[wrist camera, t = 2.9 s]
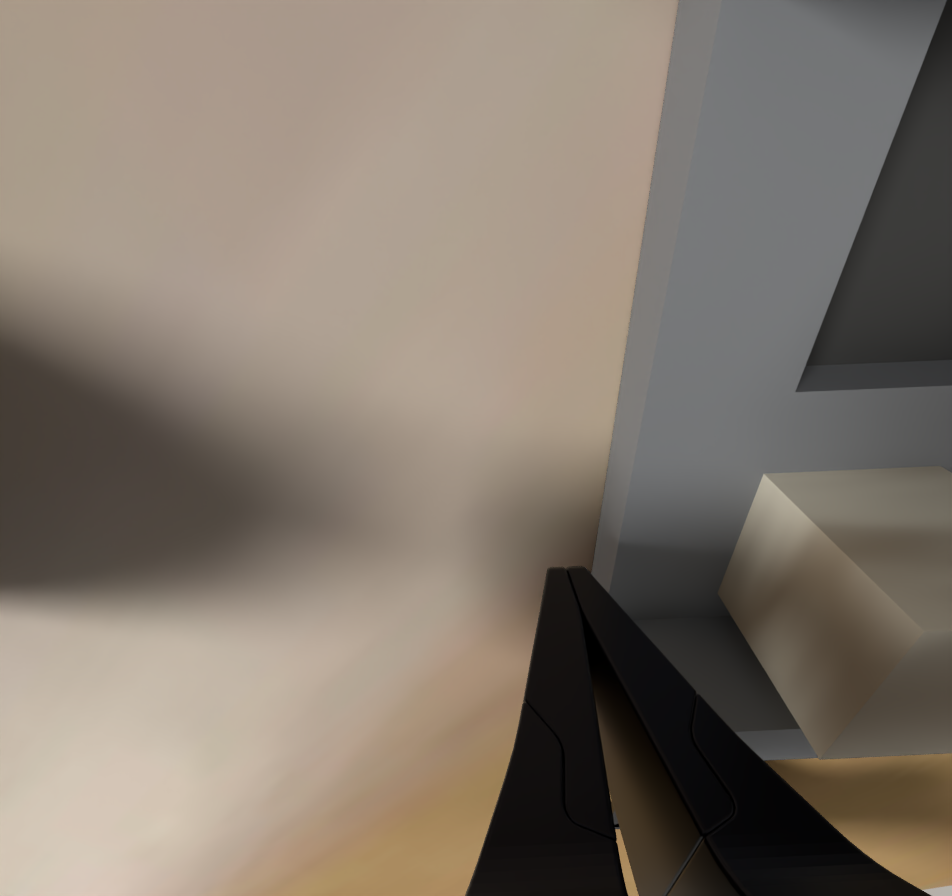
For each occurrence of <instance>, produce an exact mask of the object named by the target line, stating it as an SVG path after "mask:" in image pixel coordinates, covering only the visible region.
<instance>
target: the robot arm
mask: <svg viewBox="0 0 952 896" xmlns="http://www.w3.org/2000/svg"><path fill="white" fill-rule="evenodd" d="M696 694H697V691H696V690H695V689H694V687H693V686H692V685H691V684H690V683H689V682H688V681H687V680H686V679H685V677H684V676H683V675H682V674H681V673H680V672H679V671H678V670H677V669H676V667H675V666H674V665H673V664H672V663H671V662H670V661H669V660H668V659H667V657H666V656H665V655H664V654H663V653H662V652H661V651H660V650H659V649H658V647H657V646H656V645H655V644H654V643H653V642H652V641H651V640H650V639H649V637H648V636H647V635H646V634H645V633H644V632H643V631H642V630H641V629H640V627H639V626H638V625H637V624H636V623H635V622H634V621H633V620H632V619H631V617H630V616H629V615H628V614H627V613H626V612H625V611H624V610H623V609H622V608H621V606H620V605H619V604H618V603H617V602H616V601H615V600H614V599H613V598H612V596H611V595H610V594H609V593H608V592H607V591H606V590H605V589H604V588H603V586H602V585H601V584H600V583H599V582H598V581H597V580H596V579H595V578H594V576H593V575H592V574H591V573H590V572H589V571H588V570H587V569H586V568H585V567H583V566H571V567H567V568H566V569H565V568H564V567H550V568H548V570H547V574H546V579H545V585H544V590H543V596H542V601H541V607H540V612H539V618H538V623H537V629H536V634H535V639H534V645H533V650H532V656H531V661H530V667H529V672H528V678H527V683H526V689H525V694H524V700H523V704H522V709H521V715H520V720H519V725H518V730H517V734H516V739H515V743H514V748H513V752H512V755H511V758H510V762H509V765H508V769H507V772H506V776H505V779H504V782H503V785H502V788H501V791H500V794H499V797H498V800H497V804H496V807H495V810H494V813H493V816H492V819H491V822H490V825H489V828H488V831H487V834H486V837H485V841H484V844H483V847H482V850H481V853H480V856H479V859H478V862H477V865H476V868H475V870H474V873H473V876H472V879H471V881H470V884H469V887H468V889H467V892H466V894H465V896H628V894H627V890H626V887H625V882H624V877H623V873H622V868H621V863H620V857H619V852H618V846H617V843H616V839H617V838H616V832H615V829H620V830H621V834H622V838H623V841H624V845H625V848H626V852H627V855H628V859H629V862H630V866H631V869H632V873H633V877H634V880H635V884H636V887H637V891H638V894H639V896H931V895H929V894H927V893H926V892H924V891H922V890H920V889H919V888H917V887H915V886H913V885H912V884H910V883H908V882H906V881H905V880H903V879H901V878H900V877H898V876H896V875H895V874H893V873H891V872H890V871H888V870H887V869H885V868H884V867H882V866H881V865H880V864H878V863H877V862H875V861H874V860H873V859H871V858H870V857H869V856H867V855H866V854H865V853H863V852H862V851H861V850H860V849H858V848H857V847H856V846H855V845H854V844H852V843H851V842H850V841H849V840H848V839H847V838H845V837H844V836H843V835H842V834H841V833H840V832H839V831H838V830H837V829H835V828H834V827H833V826H832V825H831V824H830V823H829V822H828V821H827V820H826V819H825V818H824V817H823V816H822V815H821V814H820V813H819V812H817V811H816V810H815V809H814V808H813V807H812V806H811V805H810V804H809V803H808V802H807V801H806V800H805V799H804V798H803V797H802V796H801V795H799V794H798V793H797V792H796V791H795V790H794V789H793V788H792V787H791V786H790V785H789V784H788V783H787V782H786V781H785V780H784V779H782V778H781V777H780V776H779V775H778V774H777V773H776V772H775V771H774V770H773V769H772V768H771V767H770V766H769V765H768V764H767V763H766V762H765V761H763V760H762V759H761V758H760V757H759V756H758V755H757V754H756V753H755V752H754V751H753V750H752V749H751V748H750V747H749V746H748V745H747V744H746V743H745V742H744V741H743V740H742V739H741V738H740V737H739V736H738V735H737V734H736V733H735V732H734V731H733V730H732V729H731V728H730V727H729V725H728V724H727V723H726V722H725V721H724V720H723V719H722V718H721V717H720V716H719V715H718V714H717V713H716V712H715V711H714V709H713V708H712V707H711V706H710V705H709V704H708V703H707V702H706V701H705V699H704V698H703V697H702V696H701V695H700V694H697V695H696ZM609 791H610V793H609ZM610 795H611V798H612V801H611V800H610Z"/></svg>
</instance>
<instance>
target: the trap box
mask: <svg viewBox="0 0 952 896" xmlns="http://www.w3.org/2000/svg"><path fill="white" fill-rule="evenodd" d="M928 466H941V467H943V468H945V469H946V470H948V471H950V472H951V473H952V0H679V4H678V10H677V17H676V23H675V30H674V37H673V43H672V50H671V56H670V63H669V69H668V76H667V82H666V89H665V95H664V102H663V108H662V115H661V121H660V128H659V135H658V141H657V148H656V154H655V161H654V167H653V174H652V180H651V187H650V193H649V200H648V206H647V213H646V220H645V226H644V233H643V239H642V246H641V252H640V259H639V265H638V272H637V278H636V285H635V291H634V298H633V305H632V311H631V318H630V324H629V331H628V337H627V344H626V350H625V357H624V363H623V370H622V376H621V383H620V390H619V396H618V403H617V409H616V416H615V422H614V429H613V435H612V442H611V448H610V455H609V461H608V468H607V475H606V481H605V488H604V494H603V501H602V507H601V514H600V520H599V527H598V533H597V540H596V546H595V553H594V560H593V566H592V573H591V574H592V575H593V576H594V578H595V579H596V580H597V581H598V582H599V583H600V584H601V585H602V586H603V588H604V589H605V590H606V591H607V592H608V593H609V594H610V595H611V596H612V598H613V599H614V600H615V601H616V602H617V603H618V604H619V605H620V606H621V608H622V609H623V610H624V611H625V612H626V613H627V614H628V615H629V616H630V617H631V619H632V620H633V621H634V622H635V623H636V624H637V625H638V626H639V627H640V629H641V630H642V631H643V632H644V633H645V634H646V635H647V636H648V637H649V639H650V640H651V641H652V642H653V643H654V644H655V645H656V646H657V647H658V649H659V650H660V651H661V652H662V653H663V654H664V655H665V656H666V657H667V659H668V660H669V661H670V662H671V663H672V664H673V665H674V666H675V667H676V669H677V670H678V671H679V672H680V673H681V674H682V675H683V676H684V677H685V679H686V680H687V681H688V682H689V683H690V684H691V685H692V686H693V687H694V689H695V690H696V691H697V694H700V695H701V696H702V697H703V698H704V699H705V701H706V702H707V703H708V704H709V705H710V706H711V707H712V708H713V709H714V711H715V712H716V713H717V714H718V715H719V716H720V717H721V718H722V719H723V720H724V721H725V722H726V723H727V724H728V725H729V727H730V728H731V729H732V730H733V731H734V732H735V733H736V734H737V735H738V736H739V737H740V738H741V739H742V740H743V741H744V742H745V743H746V744H747V745H748V746H749V747H750V748H751V749H752V750H753V751H754V752H755V753H756V754H757V755H758V756H759V757H760V758H761V759H762V760H763V761H764V760H785V759H805V758H818V756H817V754H816V753H815V751H814V750H813V748H812V746H811V745H810V743H809V741H808V740H807V738H806V737H805V735H804V733H803V732H802V730H801V728H800V727H799V725H798V724H797V722H796V720H795V719H794V717H793V715H792V714H791V712H790V711H789V709H788V707H787V706H786V704H785V702H784V701H783V699H782V698H781V696H780V694H779V693H778V691H777V689H776V688H775V686H774V684H773V683H772V681H771V680H770V678H769V676H768V675H767V673H766V671H765V670H764V668H763V667H762V665H761V663H760V662H759V660H758V658H757V657H756V655H755V654H754V652H753V650H752V649H751V647H750V645H749V644H748V642H747V641H746V639H745V637H744V636H743V634H742V632H741V631H740V629H739V628H738V626H737V624H736V623H735V621H734V619H733V618H732V616H731V615H730V613H729V611H728V610H727V608H726V606H725V605H724V603H723V602H722V600H721V598H720V597H719V595H718V591H719V588H720V585H721V583H722V580H723V578H724V575H725V573H726V570H727V567H728V565H729V562H730V560H731V557H732V554H733V552H734V549H735V547H736V544H737V541H738V539H739V536H740V534H741V531H742V529H743V526H744V523H745V521H746V518H747V516H748V513H749V510H750V508H751V505H752V503H753V500H754V498H755V495H756V492H757V490H758V487H759V485H760V482H761V479H762V477H763V474H770V473H793V472H816V471H838V470H861V469H883V468H906V467H928ZM697 694H696V695H697Z"/></svg>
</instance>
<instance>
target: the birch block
mask: <svg viewBox="0 0 952 896" xmlns="http://www.w3.org/2000/svg"><path fill="white" fill-rule="evenodd" d="M718 595H719V597H720V598H721V600H722V602H723V603H724V605H725V606H726V608H727V610H728V611H729V613H730V615H731V616H732V618H733V619H734V621H735V623H736V624H737V626H738V628H739V629H740V631H741V632H742V634H743V636H744V637H745V639H746V641H747V642H748V644H749V645H750V647H751V649H752V650H753V652H754V654H755V655H756V657H757V658H758V660H759V662H760V663H761V665H762V667H763V668H764V670H765V671H766V673H767V675H768V676H769V678H770V680H771V681H772V683H773V684H774V686H775V688H776V689H777V691H778V693H779V694H780V696H781V698H782V699H783V701H784V702H785V704H786V706H787V707H788V709H789V711H790V712H791V714H792V715H793V717H794V719H795V720H796V722H797V724H798V725H799V727H800V728H801V730H802V732H803V733H804V735H805V737H806V738H807V740H808V741H809V743H810V745H811V746H812V748H813V750H814V751H815V753H816V754H817V756H818V758H819V759H840V758H861V757H882V756H902V755H923V754H943V753H952V473H951V472H950V471H948V470H946V469H945V468H943V467H941V466H928V467H906V468H883V469H861V470H838V471H816V472H793V473H770V474H763V477H762V479H761V482H760V485H759V487H758V490H757V492H756V495H755V498H754V500H753V503H752V505H751V508H750V510H749V513H748V516H747V518H746V521H745V523H744V526H743V529H742V531H741V534H740V536H739V539H738V541H737V544H736V547H735V549H734V552H733V554H732V557H731V560H730V562H729V565H728V567H727V570H726V573H725V575H724V578H723V580H722V583H721V585H720V588H719V591H718Z"/></svg>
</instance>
